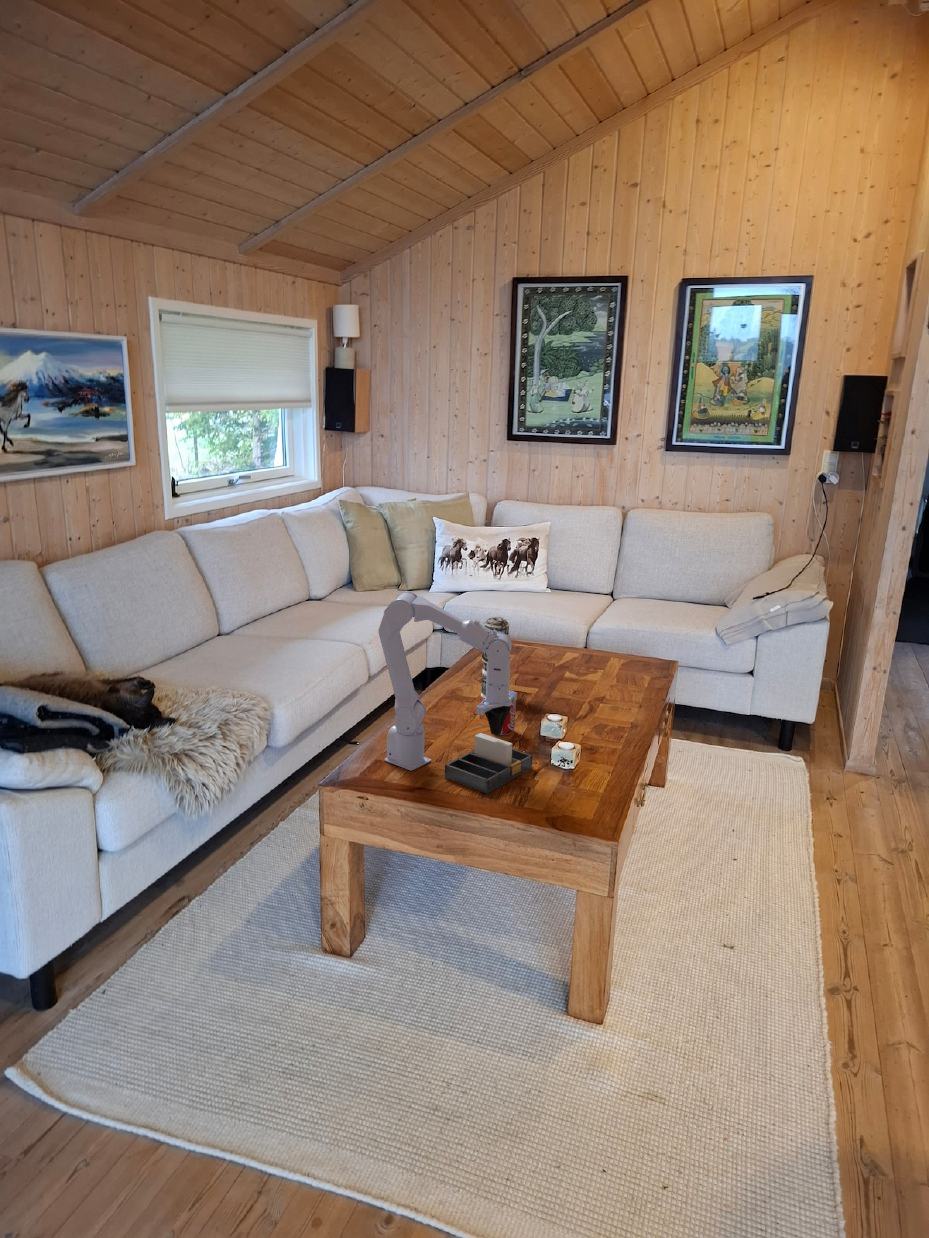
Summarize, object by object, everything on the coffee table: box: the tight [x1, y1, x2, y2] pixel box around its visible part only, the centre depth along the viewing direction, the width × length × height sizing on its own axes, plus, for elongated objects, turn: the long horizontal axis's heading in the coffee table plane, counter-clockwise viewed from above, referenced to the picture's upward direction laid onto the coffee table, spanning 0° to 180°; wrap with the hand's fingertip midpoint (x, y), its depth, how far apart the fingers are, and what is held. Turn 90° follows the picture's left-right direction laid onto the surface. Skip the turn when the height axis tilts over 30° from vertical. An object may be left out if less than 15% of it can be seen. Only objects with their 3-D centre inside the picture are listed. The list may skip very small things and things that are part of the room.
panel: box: [473, 732, 513, 767], centre depth 215 cm, size 10×2×7 cm, turn 52°
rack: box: [444, 748, 534, 795], centre depth 214 cm, size 13×19×4 cm
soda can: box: [498, 688, 517, 736], centre depth 238 cm, size 7×7×12 cm
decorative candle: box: [480, 616, 511, 699], centre depth 265 cm, size 9×9×25 cm
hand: (495, 733), depth 213 cm, fingers closed
